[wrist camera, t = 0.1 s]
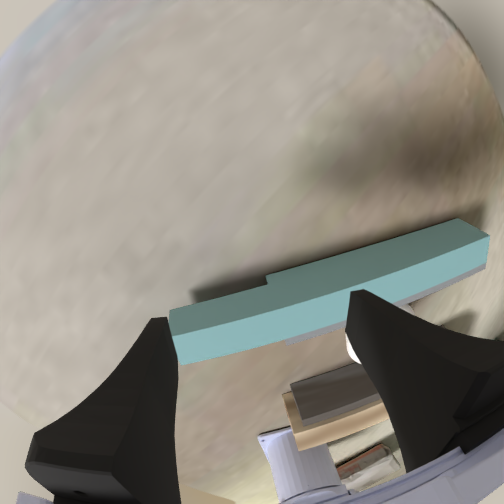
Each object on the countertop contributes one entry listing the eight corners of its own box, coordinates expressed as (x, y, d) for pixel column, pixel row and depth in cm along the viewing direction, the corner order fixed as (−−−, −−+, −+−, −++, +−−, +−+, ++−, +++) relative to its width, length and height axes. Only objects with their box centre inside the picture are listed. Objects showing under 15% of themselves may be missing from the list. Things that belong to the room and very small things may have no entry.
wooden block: (441, 353, 31) (463, 379, 26) (287, 414, 30) (298, 451, 25) (449, 321, 29) (474, 348, 24) (280, 387, 28) (292, 427, 23)
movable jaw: (455, 248, 24) (485, 268, 20) (185, 332, 23) (184, 371, 19) (458, 217, 23) (490, 235, 19) (171, 300, 22) (166, 337, 18)
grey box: (391, 448, 42) (382, 435, 37) (402, 468, 37) (395, 458, 33) (304, 492, 43) (280, 485, 39) (311, 512, 39) (287, 509, 34)
